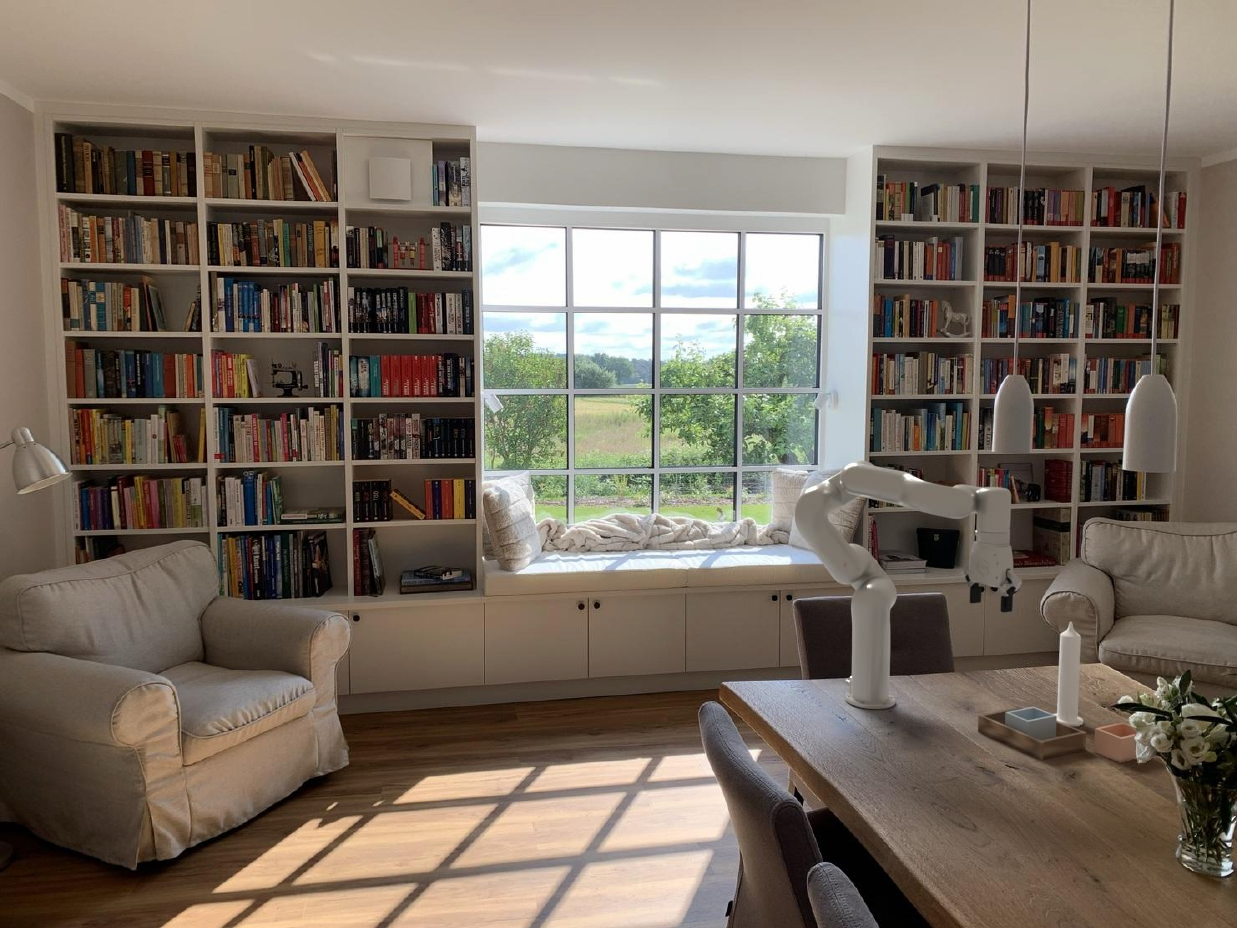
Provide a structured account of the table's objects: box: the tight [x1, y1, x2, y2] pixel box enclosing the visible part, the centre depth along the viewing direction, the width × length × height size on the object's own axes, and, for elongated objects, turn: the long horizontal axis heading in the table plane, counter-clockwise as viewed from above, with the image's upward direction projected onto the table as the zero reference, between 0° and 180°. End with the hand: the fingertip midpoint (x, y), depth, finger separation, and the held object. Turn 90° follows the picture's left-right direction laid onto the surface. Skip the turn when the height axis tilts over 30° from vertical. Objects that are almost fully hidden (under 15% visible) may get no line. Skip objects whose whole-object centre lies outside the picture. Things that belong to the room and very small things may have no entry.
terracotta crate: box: [1093, 722, 1136, 764], centre depth 200 cm, size 6×9×6 cm
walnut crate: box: [977, 706, 1087, 761], centre depth 208 cm, size 18×14×4 cm
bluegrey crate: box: [1005, 706, 1057, 741], centre depth 208 cm, size 6×9×6 cm
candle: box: [1052, 621, 1084, 727], centre depth 219 cm, size 7×7×25 cm
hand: (990, 607), depth 219 cm, fingers open, 9 cm apart
